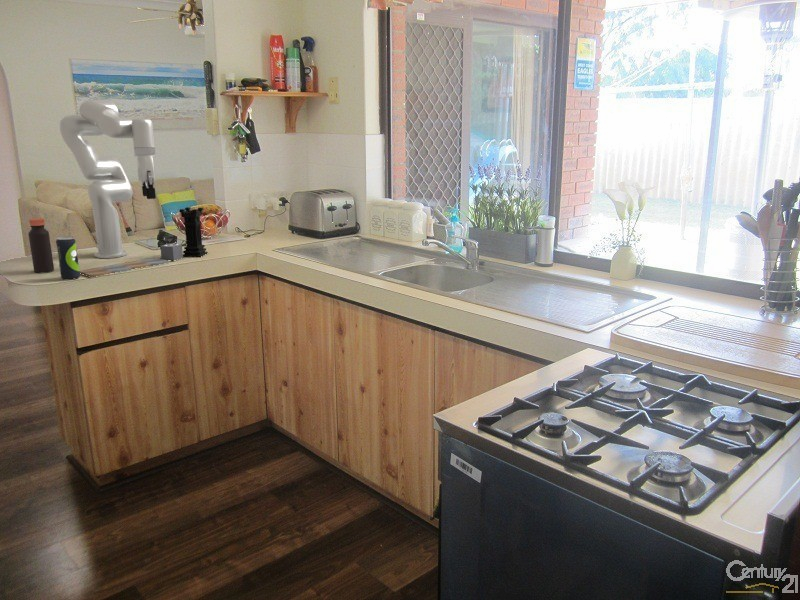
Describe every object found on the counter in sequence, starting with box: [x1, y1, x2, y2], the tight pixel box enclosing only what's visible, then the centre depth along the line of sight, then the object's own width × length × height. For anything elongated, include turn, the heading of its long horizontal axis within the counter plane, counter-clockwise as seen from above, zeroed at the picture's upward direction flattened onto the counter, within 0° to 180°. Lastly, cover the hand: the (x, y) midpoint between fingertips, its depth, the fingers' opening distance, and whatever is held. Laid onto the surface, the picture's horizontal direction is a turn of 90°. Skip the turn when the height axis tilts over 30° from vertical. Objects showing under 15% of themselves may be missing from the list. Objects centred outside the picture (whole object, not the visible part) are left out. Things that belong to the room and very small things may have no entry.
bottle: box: [27, 217, 55, 273], centre depth 244 cm, size 7×7×20 cm
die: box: [160, 243, 184, 262], centre depth 267 cm, size 6×6×6 cm
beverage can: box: [55, 235, 81, 280], centre depth 234 cm, size 6×6×15 cm
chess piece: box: [179, 206, 209, 258], centre depth 273 cm, size 8×8×20 cm
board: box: [79, 257, 170, 278], centre depth 251 cm, size 10×32×1 cm, turn 142°
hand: (149, 197), depth 250 cm, fingers open, 9 cm apart
